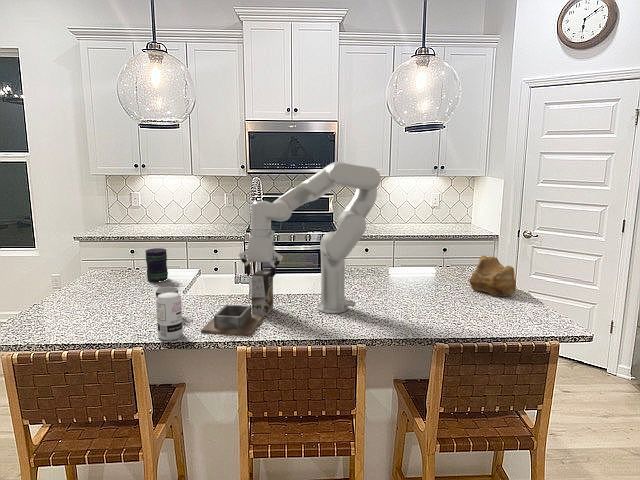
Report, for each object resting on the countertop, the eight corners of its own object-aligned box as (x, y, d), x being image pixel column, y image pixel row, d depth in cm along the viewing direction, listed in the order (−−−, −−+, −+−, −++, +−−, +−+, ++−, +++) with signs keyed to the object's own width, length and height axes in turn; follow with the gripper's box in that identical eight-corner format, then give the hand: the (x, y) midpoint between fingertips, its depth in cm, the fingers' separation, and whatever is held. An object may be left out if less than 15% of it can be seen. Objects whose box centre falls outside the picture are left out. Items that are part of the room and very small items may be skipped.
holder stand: (263, 318, 188) (263, 304, 187) (250, 335, 170) (250, 320, 169) (218, 315, 190) (217, 302, 189) (201, 332, 173) (200, 317, 172)
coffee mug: (155, 312, 194) (154, 288, 192) (178, 309, 197) (177, 285, 195) (158, 322, 183) (157, 296, 181) (182, 319, 186) (181, 293, 185)
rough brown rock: (458, 287, 234) (458, 257, 231) (490, 282, 237) (490, 252, 234) (485, 303, 212) (485, 270, 208) (519, 298, 215) (520, 265, 212)
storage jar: (153, 276, 246) (151, 247, 243) (171, 277, 245) (170, 248, 242) (143, 282, 236) (141, 252, 233) (162, 283, 235) (160, 252, 232)
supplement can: (161, 332, 173) (158, 291, 170) (185, 331, 173) (183, 291, 171) (155, 341, 165) (153, 298, 162) (180, 340, 166) (178, 298, 163)
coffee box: (267, 316, 190) (266, 276, 187) (251, 315, 191) (250, 275, 188) (274, 308, 199) (273, 270, 196) (258, 307, 200) (258, 269, 197)
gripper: (285, 232, 191) (284, 275, 195) (242, 230, 194) (242, 272, 197) (280, 235, 184) (280, 279, 187) (236, 233, 186) (236, 276, 190)
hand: (260, 275), depth 192 cm, fingers open, 9 cm apart
